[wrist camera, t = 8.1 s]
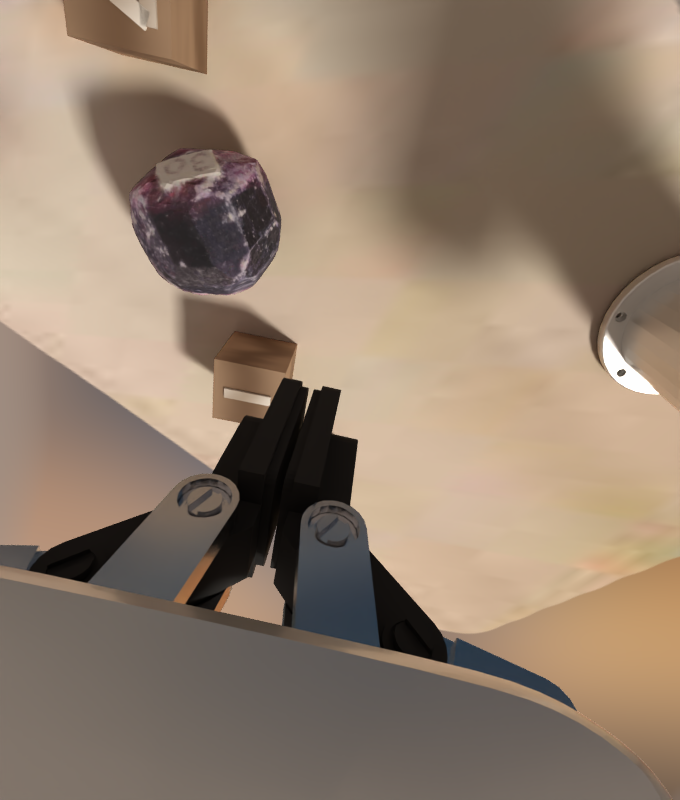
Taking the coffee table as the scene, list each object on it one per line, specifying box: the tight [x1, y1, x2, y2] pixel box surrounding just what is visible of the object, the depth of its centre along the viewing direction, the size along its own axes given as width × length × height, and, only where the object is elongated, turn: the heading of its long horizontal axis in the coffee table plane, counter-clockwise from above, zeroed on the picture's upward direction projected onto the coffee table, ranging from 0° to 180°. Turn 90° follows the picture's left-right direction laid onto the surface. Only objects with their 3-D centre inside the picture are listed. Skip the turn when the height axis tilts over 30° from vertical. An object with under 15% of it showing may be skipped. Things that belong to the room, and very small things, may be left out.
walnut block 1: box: [212, 331, 297, 423], centre depth 38 cm, size 6×6×6 cm
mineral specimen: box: [129, 148, 281, 295], centre depth 30 cm, size 10×10×10 cm
